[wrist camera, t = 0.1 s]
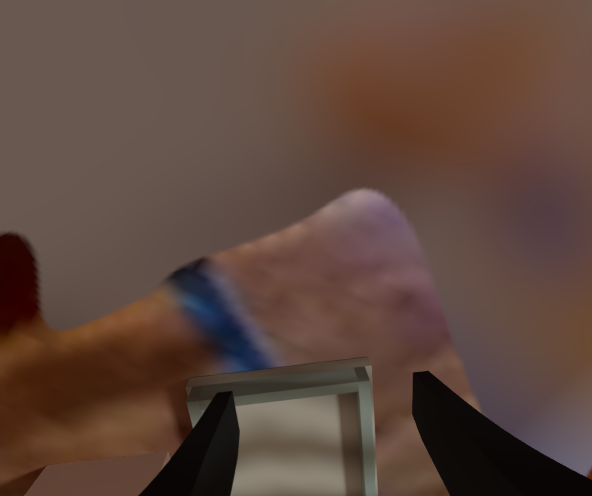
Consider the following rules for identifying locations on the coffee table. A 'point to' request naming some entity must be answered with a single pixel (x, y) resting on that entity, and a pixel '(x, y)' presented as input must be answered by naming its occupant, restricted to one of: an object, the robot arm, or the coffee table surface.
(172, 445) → the coffee table surface
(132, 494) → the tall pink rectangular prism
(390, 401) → the coffee table surface
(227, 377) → the shallow square tray
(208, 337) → the coffee table surface
